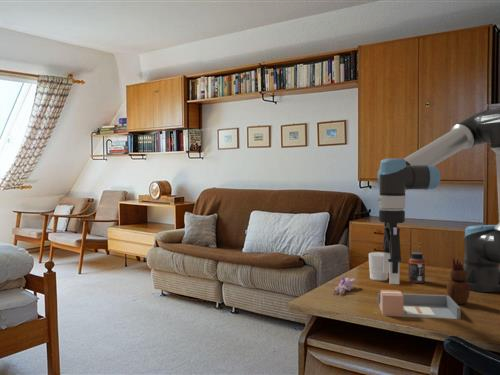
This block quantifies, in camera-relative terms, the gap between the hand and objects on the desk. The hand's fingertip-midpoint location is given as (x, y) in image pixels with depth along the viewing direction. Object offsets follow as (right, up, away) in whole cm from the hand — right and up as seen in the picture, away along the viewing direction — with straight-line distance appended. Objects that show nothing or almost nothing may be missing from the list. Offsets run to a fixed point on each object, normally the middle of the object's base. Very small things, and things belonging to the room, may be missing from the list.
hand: (390, 278), depth 137 cm
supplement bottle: (+22, -9, +37) cm, 44 cm away
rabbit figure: (-9, -10, +25) cm, 29 cm away
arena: (+9, -11, +2) cm, 14 cm away
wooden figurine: (+25, -10, +10) cm, 29 cm away
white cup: (+9, -9, +42) cm, 44 cm away
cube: (0, -11, +1) cm, 11 cm away
